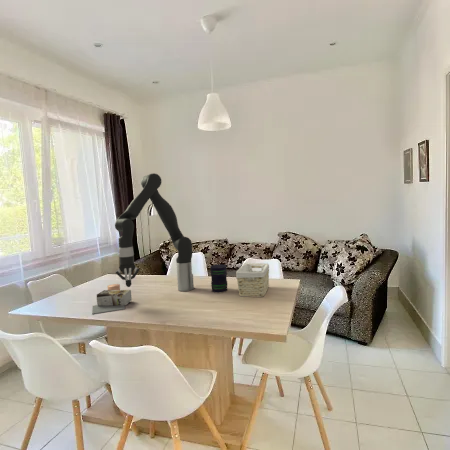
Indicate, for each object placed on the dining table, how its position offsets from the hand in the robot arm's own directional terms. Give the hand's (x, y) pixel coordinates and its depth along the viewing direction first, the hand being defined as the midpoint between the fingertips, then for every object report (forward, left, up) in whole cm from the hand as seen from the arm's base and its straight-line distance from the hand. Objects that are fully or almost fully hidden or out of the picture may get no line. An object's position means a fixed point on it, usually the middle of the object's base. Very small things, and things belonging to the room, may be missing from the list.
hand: (128, 286), depth 179 cm
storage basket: (-70, +12, -10) cm, 72 cm away
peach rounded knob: (+7, -20, -10) cm, 23 cm away
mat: (+11, 0, -10) cm, 15 cm away
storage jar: (-53, -1, -10) cm, 54 cm away
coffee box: (0, -2, -6) cm, 7 cm away
